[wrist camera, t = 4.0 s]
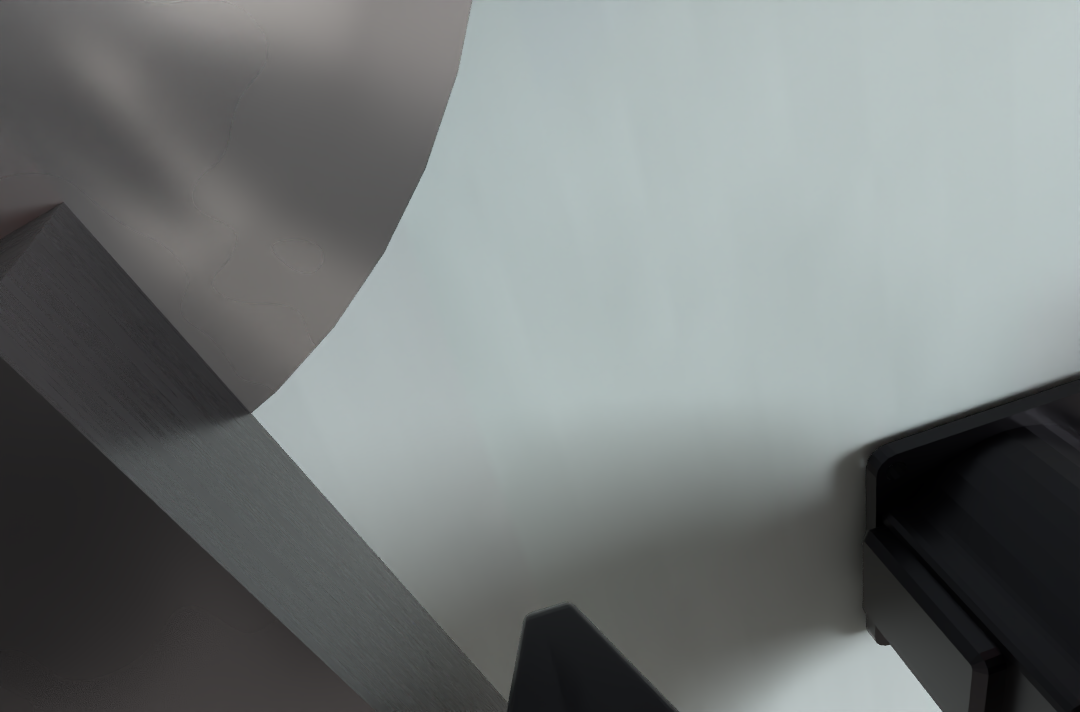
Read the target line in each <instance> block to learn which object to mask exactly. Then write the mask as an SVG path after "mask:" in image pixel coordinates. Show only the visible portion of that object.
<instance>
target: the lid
mask: <svg viewBox="0 0 1080 712" xmlns="http://www.w3.org/2000/svg"><path fill="white" fill-rule="evenodd" d="M471 4H472V0H0V712H507V707H508V703H507V702H506V700H505V699H504V698H503V697H502V696H501V695H500V694H499V693H498V691H497V690H496V689H495V688H494V687H493V686H492V685H491V683H490V682H489V681H488V680H487V679H486V678H485V677H484V676H483V674H482V673H481V672H480V671H479V670H478V669H477V668H476V667H475V665H474V664H473V663H472V662H471V661H470V660H469V659H468V658H467V656H466V655H465V654H464V653H463V652H462V651H461V650H460V649H459V647H458V646H457V645H456V644H455V643H454V642H453V641H452V639H451V638H450V637H449V636H448V635H447V634H446V633H445V632H444V630H443V629H442V628H441V627H440V626H439V625H438V624H437V623H436V621H435V620H434V619H433V618H432V617H431V616H430V615H429V614H428V612H427V611H426V610H425V609H424V608H423V607H422V606H421V605H420V603H419V602H418V601H417V600H416V599H415V598H414V597H413V596H412V594H411V593H410V592H409V591H408V590H407V589H406V588H405V586H404V585H403V584H402V583H401V582H400V581H399V580H398V579H397V577H396V576H395V575H394V574H393V573H392V572H391V571H390V570H389V568H388V567H387V566H386V565H385V564H384V563H383V562H382V561H381V559H380V558H379V557H378V556H377V555H376V554H375V553H374V552H373V550H372V549H371V548H370V547H369V546H368V545H367V544H366V543H365V541H364V540H363V539H362V538H361V537H360V536H359V535H358V533H357V532H356V531H355V530H354V529H353V528H352V527H351V526H350V524H349V523H348V522H347V521H346V520H345V519H344V518H343V517H342V515H341V514H340V513H339V512H338V511H337V510H336V509H335V508H334V506H333V505H332V504H331V503H330V502H329V501H328V500H327V499H326V497H325V496H324V495H323V494H322V493H321V492H320V491H319V489H318V488H317V487H316V486H315V485H314V484H313V483H312V482H311V480H310V479H309V478H308V477H307V476H306V475H305V474H304V473H303V471H302V470H301V469H300V468H299V467H298V466H297V465H296V464H295V462H294V461H293V460H292V459H291V458H290V457H289V456H288V455H287V453H286V452H285V451H284V450H283V449H282V448H281V447H280V446H279V444H278V443H277V442H276V441H275V440H274V439H273V438H272V436H271V435H270V434H269V433H268V432H267V431H266V430H265V429H264V427H263V426H262V425H261V424H260V423H259V422H258V421H257V420H256V418H255V417H254V416H253V415H252V414H251V413H252V412H253V411H254V410H255V409H257V408H258V407H259V406H260V405H261V404H262V403H264V402H265V401H266V400H267V399H268V398H269V397H270V396H272V395H273V394H274V393H275V392H276V391H277V390H278V389H279V388H280V387H281V386H282V385H283V384H284V383H285V381H286V380H287V379H288V378H289V377H290V376H291V375H292V374H293V372H294V371H295V370H296V369H297V368H298V367H299V366H300V365H301V363H302V362H303V361H304V360H305V359H306V358H307V357H308V356H309V355H310V353H311V352H312V351H313V350H314V349H315V348H316V347H317V346H318V344H319V343H320V342H321V341H322V340H323V339H324V338H325V337H326V335H327V334H328V333H329V332H330V331H331V330H332V329H333V328H334V326H335V325H336V323H337V322H338V320H339V319H340V317H341V316H342V315H343V313H344V312H345V310H346V309H347V307H348V306H349V304H350V303H351V301H352V300H353V298H354V297H355V295H356V294H357V292H358V291H359V289H360V288H361V286H362V285H363V283H364V282H365V280H366V279H367V277H368V276H369V274H370V273H371V271H372V270H373V268H374V267H375V265H376V264H377V262H378V261H379V259H380V258H381V257H382V255H383V254H384V252H385V250H386V248H387V246H388V244H389V242H390V240H391V237H392V235H393V233H394V231H395V229H396V227H397V225H398V223H399V221H400V219H401V217H402V215H403V213H404V211H405V209H406V207H407V205H408V203H409V201H410V199H411V197H412V195H413V193H414V191H415V189H416V187H417V185H418V183H419V180H420V178H421V176H422V174H423V172H424V170H425V168H426V165H427V162H428V159H429V156H430V153H431V150H432V147H433V144H434V141H435V138H436V135H437V132H438V129H439V126H440V123H441V121H442V118H443V115H444V112H445V109H446V106H447V103H448V100H449V97H450V94H451V91H452V88H453V85H454V82H455V79H456V76H457V73H458V68H459V63H460V58H461V54H462V49H463V44H464V39H465V34H466V29H467V24H468V19H469V14H470V9H471Z"/></svg>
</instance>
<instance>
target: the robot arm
mask: <svg viewBox="0 0 1080 712" xmlns="http://www.w3.org/2000/svg"><path fill="white" fill-rule="evenodd" d="M891 465H892V466H891ZM890 466H891V467H890ZM862 554H863V609H864V611H865V613H866V627H867V631H868V632H869V633H870V635H871V636H872V637H873V639H874V640H875V641H876V642H877V643H878V644H879V645H885V646H886V645H891V646H892V647H893V649H894V650H895V651H896V652H897V654H898V655H899V656H900V658H901V659H902V660H903V661H904V663H905V664H906V665H907V667H908V668H909V669H910V670H911V672H912V673H913V674H914V676H915V677H916V678H917V679H918V681H919V682H920V683H921V685H922V686H923V687H924V688H925V690H926V691H927V692H928V694H929V695H930V696H931V697H932V699H933V700H934V701H935V703H936V704H937V705H938V706H939V708H940V709H941V710H942V712H1080V379H1079V380H1076V381H1073V382H1070V383H1067V384H1064V385H1061V386H1058V387H1055V388H1052V389H1049V390H1046V391H1043V392H1040V393H1037V394H1034V395H1031V396H1028V397H1025V398H1022V399H1019V400H1016V401H1013V402H1010V403H1007V404H1004V405H1002V406H999V407H996V408H993V409H990V410H987V411H984V412H981V413H978V414H975V415H972V416H969V417H966V418H963V419H960V420H957V421H954V422H951V423H948V424H945V425H942V426H939V427H936V428H933V429H930V430H927V431H924V432H921V433H918V434H915V435H912V436H909V437H906V438H903V439H900V440H897V441H894V442H891V443H888V444H885V445H883V446H881V447H879V448H878V449H877V450H876V451H875V452H874V453H872V455H871V456H870V458H869V459H868V462H867V466H866V533H865V536H864V539H863V542H862ZM507 712H679V711H678V710H677V709H676V708H675V707H674V706H673V705H672V704H671V703H670V702H669V701H668V700H667V699H666V698H665V697H664V696H663V695H662V694H661V693H660V692H659V691H658V690H657V689H656V688H655V687H654V686H653V685H652V684H651V683H650V682H649V681H648V680H647V679H646V678H645V677H644V676H643V675H642V673H641V672H640V671H639V670H638V669H637V668H636V667H635V666H634V665H633V664H632V663H631V662H630V661H629V660H628V659H627V658H626V657H625V656H624V655H623V654H622V653H621V652H620V651H619V650H618V649H617V648H616V647H615V646H614V645H613V644H612V643H611V642H610V641H609V640H608V639H607V638H606V637H605V636H604V635H603V634H602V633H601V632H600V631H599V630H598V629H597V628H596V626H595V625H594V624H593V623H592V622H591V621H590V620H589V619H588V618H587V617H586V616H585V615H584V614H583V613H582V612H581V611H580V610H579V609H578V608H577V607H576V606H575V605H573V604H572V603H570V602H563V603H560V604H557V605H554V606H550V607H547V608H544V609H541V610H538V611H534V612H531V613H529V614H527V615H526V617H525V619H524V621H523V625H522V631H521V636H520V641H519V647H518V652H517V658H516V663H515V669H514V674H513V680H512V685H511V690H510V696H509V701H508V707H507Z"/></svg>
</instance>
